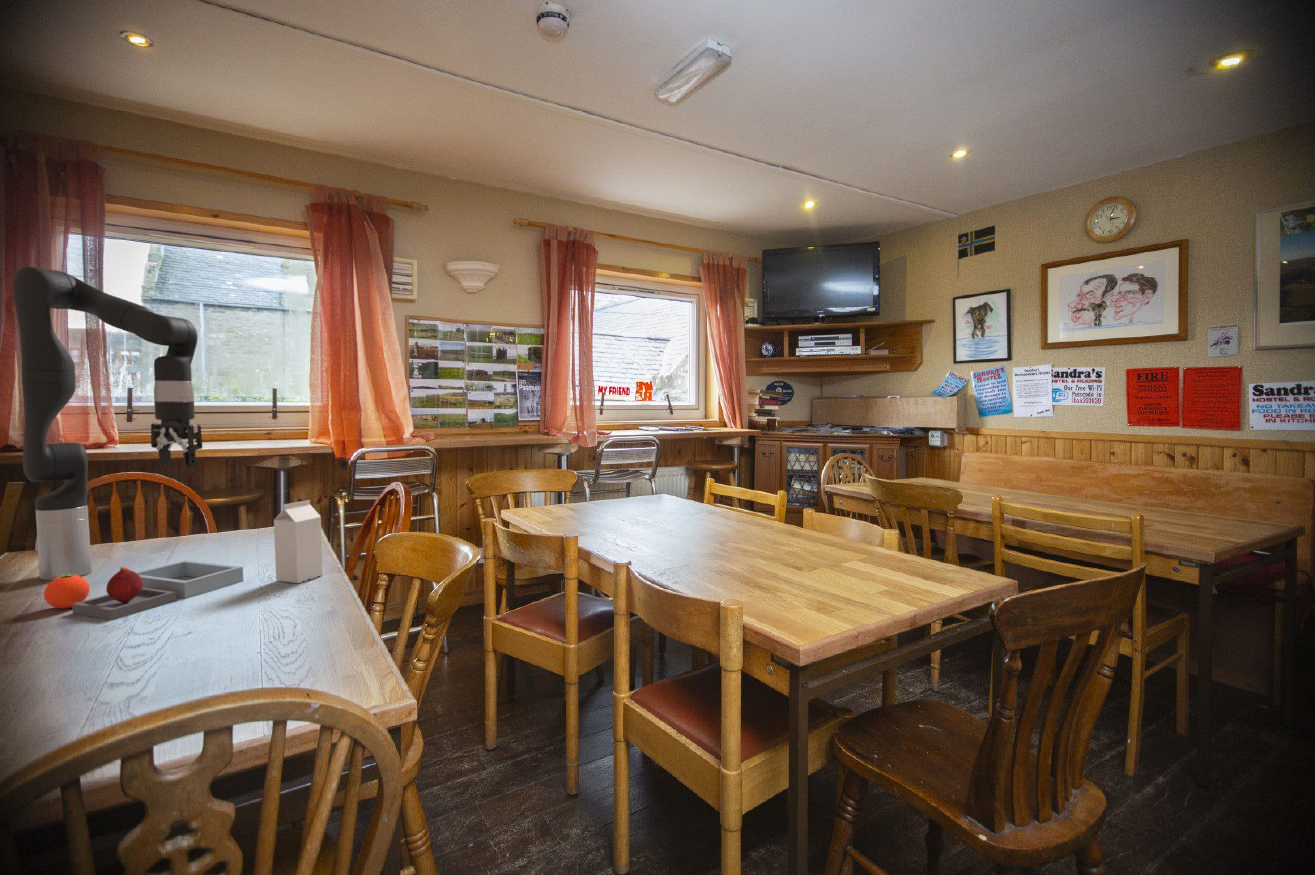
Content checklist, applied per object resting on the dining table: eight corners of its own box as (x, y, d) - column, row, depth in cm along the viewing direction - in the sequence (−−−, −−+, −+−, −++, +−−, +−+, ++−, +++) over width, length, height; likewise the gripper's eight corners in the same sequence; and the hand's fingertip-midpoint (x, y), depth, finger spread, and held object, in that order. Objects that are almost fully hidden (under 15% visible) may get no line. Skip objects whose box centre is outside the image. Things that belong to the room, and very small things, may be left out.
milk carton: (323, 576, 150) (320, 500, 149) (297, 584, 144) (294, 505, 142) (301, 573, 153) (299, 499, 151) (275, 581, 146) (272, 503, 145)
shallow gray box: (125, 589, 139) (124, 575, 139) (186, 573, 152) (185, 560, 152) (185, 598, 133) (184, 582, 133) (243, 581, 146) (242, 566, 146)
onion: (151, 599, 130) (149, 563, 130) (124, 608, 125) (122, 570, 124) (127, 598, 131) (125, 562, 131) (99, 607, 125) (97, 569, 125)
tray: (72, 613, 124) (72, 603, 124) (138, 595, 135) (137, 586, 135) (111, 620, 120) (111, 610, 120) (175, 600, 132) (175, 591, 132)
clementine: (44, 606, 128) (41, 573, 128) (88, 598, 133) (86, 567, 133) (45, 615, 123) (43, 581, 122) (92, 607, 128) (90, 574, 127)
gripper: (137, 399, 144) (140, 466, 146) (178, 400, 140) (181, 469, 141) (170, 399, 152) (173, 463, 153) (211, 400, 147) (214, 466, 148)
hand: (177, 466), depth 147 cm, fingers open, 8 cm apart
